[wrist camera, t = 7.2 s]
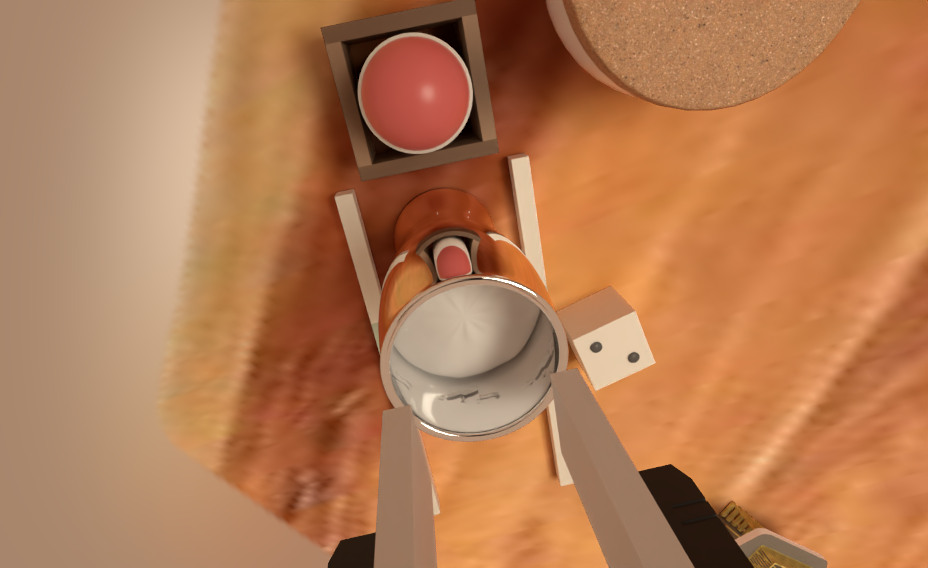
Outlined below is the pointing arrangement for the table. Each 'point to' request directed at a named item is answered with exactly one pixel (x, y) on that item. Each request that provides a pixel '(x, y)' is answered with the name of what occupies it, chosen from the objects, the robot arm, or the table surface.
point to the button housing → (392, 25)
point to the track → (530, 248)
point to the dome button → (415, 93)
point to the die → (606, 337)
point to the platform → (767, 543)
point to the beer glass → (465, 323)
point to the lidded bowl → (697, 45)
